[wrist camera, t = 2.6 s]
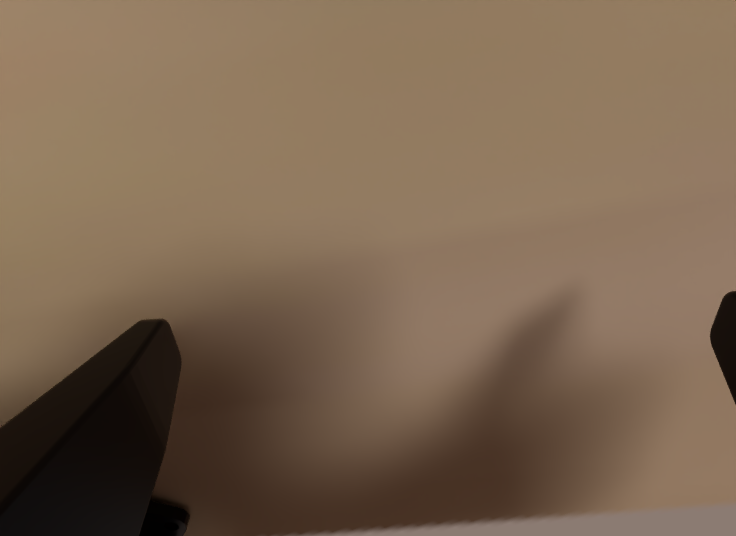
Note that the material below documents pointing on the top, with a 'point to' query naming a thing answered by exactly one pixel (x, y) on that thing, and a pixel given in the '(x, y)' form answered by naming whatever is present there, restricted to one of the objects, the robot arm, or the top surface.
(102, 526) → the robot arm
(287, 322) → the top surface
